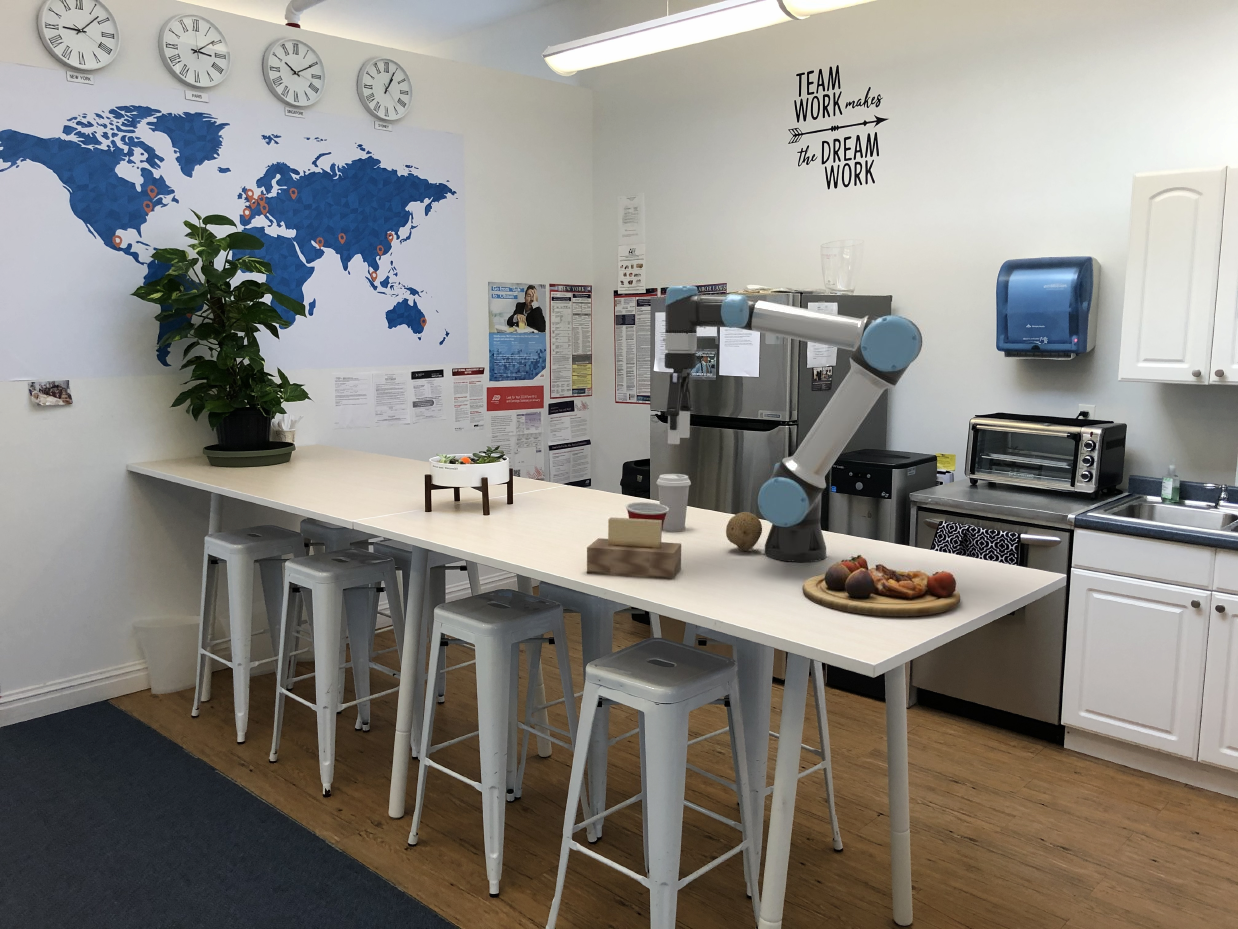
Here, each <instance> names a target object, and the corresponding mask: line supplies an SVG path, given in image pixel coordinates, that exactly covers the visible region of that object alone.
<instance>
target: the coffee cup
mask: <svg viewBox="0 0 1238 929" xmlns="http://www.w3.org/2000/svg"><path fill="white" fill-rule="evenodd" d="M656 485H657V487H658V499H659V500H658V501H659V503H658V504H661V505H664V506H667V507H668V508H669V511H668V512H667V514H666V516H665V520H664V524H663V529H662V531H664V532H683V531H685V528H686V519H687V508H688V499H689V490H690V485H692V483H691V480H690V478H689V475H687V474H682V473H681V474H680V473H665V474H660V475H659V477H658V479H657V480H656Z"/></svg>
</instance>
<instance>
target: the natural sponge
mask: <svg viewBox="0 0 1238 929" xmlns="http://www.w3.org/2000/svg"><path fill="white" fill-rule="evenodd" d="M762 525H763V524H762V521H761V520H760V519H759V517H758V516H756V514H753V513H751V512H749V511H748V512H747V511H743V512H739V513H736V514H735V515H733V516H732V517H731V518H729V521H728V522H727V525H726V528H725V529H726V530H725V535H726V538H727V540H728V541H729V542H730V543H731V544H733V545H735V546H736V547H737V548H738V549H739V550H740V551H743V552H746V551H749V550H752V548H754V547H755V546H756V544H757V543H758V541H759V540H760V538H761V536H762V533H763V526H762Z"/></svg>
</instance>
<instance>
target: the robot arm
mask: <svg viewBox="0 0 1238 929" xmlns="http://www.w3.org/2000/svg"><path fill="white" fill-rule="evenodd" d="M664 310H665V312H664V316H665V317H664V318H665V319H664V320H665V321H664V322H665V324H664V325H665V328H664V329H665V332H664V333H665V335H664V337H662V342H664V350H665V351H667V352H665V354H664V368H665V369H670V370H672V373H669V386H668V396H667V404H666V410H665V411H664V416H665V417H667V444H668V445H680V442H681V438H684V439H685V438H687V439H689V438H690V434H691V433H690V432H691V430H690V428H691V427H690V424H691V421H690V420H691V412H693V411H694V406H693V405H692V392H691V377H690V376H691V371H688V370H693V369H696V368H697V354H696V353H695V351H697V349H698V348H697V344H698V342H697V339H698V337H697V336H698V334H697V333H698V331H697V329H698V328H707V327H708V328H729V329H732V328H734V329H740V330H745V331H753V332H758V333H763V334H766V335H773V336H778V337H782V338H789V339H793V340H797V341H802V342H803V341H804V342H807V343H812V344H818V345H824V346H828V347H833V348H837V349H838V348H839V349H844V350H849V351H853V352H852V354H851V356H850V357H849V362H850V369H849V371H848V373H847V374H846V376H845V377H844V379H843V381H842V382H841V383H840V385H839V386H838V388H837V389H836V390H835V392H834V394H833V395H832V397H831V398H830V400H829V401H828V403H827V405H826V406H825V407H824V409H823V410H822V412H821V413H820V415H819V416H818V418H817V419H816V421H815V423H814V424H813V425H812V427H811V428H810V430H809V431H808V432H807V434H806V436H805V438H804V439H803V441H802V442H801V443H800V445H799V446H798V447H797V450H796V451H795V453H794V454H792V455H791V456H788V457H784V458H782V460H781V461H780V462H776V463H775V465H774V468H773V472H772V474H771V477H770V478H768V480H766V482H764V483H763V484H762V486H761V487H760V489H759V493H758V496H757V505H758V510H759V512H760V513H761V515H762V516H763V518H764V519H765V520H766V521H767V522H769V523H771V526H770V528H769V529H770V530H769V532H768V534H767V538H766V540H765V543H764V549H763V550H764V551H763V552H764V555H765V556H766V557H768V558H771V559H774V560H779V561H785V562H798V563H799V562H800V563H802V562H803V563H805V562H807V563H808V562H816V561H820V560H824V559H826V557H827V545H826V542H825V538H824V534H823V531H822V528H821V513H822V512H821V511H822V509H821V508H822V493H823V491H824V490H825V488H826V487H827V483H826V480H825V478H826V477H825V476H826V475H827V474H828V472H829V471H830V469H831V468H832V467H833V465H834V464H835V462H836V461H837V459H838V457H839V456H840V454H841V453H842V451H843V450H844V449H845V447H846V446H847V445H848V443H849V441H850V440H851V439H852V438H853V436H854V435H855V433H856V432H857V431H858V429H859V427H860V425H861V424H862V422H864V420H865V418H866V417H867V415H868V414H869V412H871V409H872V408H873V407H874V405H875V404H876V402H877V401H878V399H879V398H880V396H881V395H882V394H883V393H884V391H885V390H886V389H891V388H894V387H896V385H897V383H899V381H900V379H901V378H902V376H904V374H905V372H906V371H907V370H908V368H909V366H910V365H911V364H912V363H913V362H914V361H915V360H916V359H917V358H918V356H919V355H920V353H921V351H922V347H923V336H922V335H923V334H922V333H921V330H920V328H919V327H918V325H916V324H915V323H914V322H913V321H912V320H910V319H908V318H907V317H902V316H900V315H894V314H893V315H892V314H891V315H884V316H882V317H878V316H872V315H866V316H864V317H863V318H859V317H854V316H853V317H852V316H848V315H842V314H836V313H831V312H825V311H819V310H815V309H809V308H803V307H798V306H793V305H787V304H781V303H776V302H770V301H765V300H758V299H754V298H749V297H747V296H746V295H744V294H736V293H729V294H699V292H698V288H697V286H693V285H672V286H669V287H667V289H666V293H665V304H664Z"/></svg>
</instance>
